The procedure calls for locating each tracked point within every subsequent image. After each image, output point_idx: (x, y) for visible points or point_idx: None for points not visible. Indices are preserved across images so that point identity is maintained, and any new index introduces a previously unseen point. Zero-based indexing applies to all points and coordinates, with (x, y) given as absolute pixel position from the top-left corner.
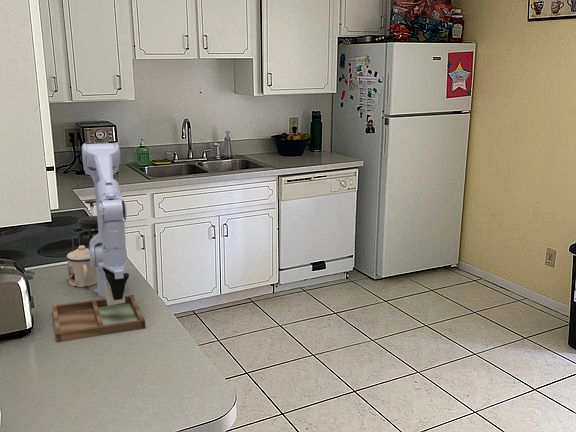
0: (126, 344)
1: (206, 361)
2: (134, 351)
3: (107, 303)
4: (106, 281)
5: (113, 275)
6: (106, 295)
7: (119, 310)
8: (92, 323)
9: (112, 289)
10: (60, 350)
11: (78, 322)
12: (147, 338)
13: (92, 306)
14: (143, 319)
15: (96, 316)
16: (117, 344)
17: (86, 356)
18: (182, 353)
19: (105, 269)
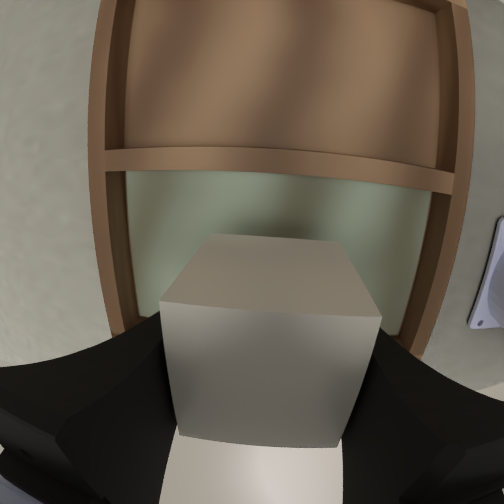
0: (60, 235)
1: (4, 360)
2: (25, 247)
3: (211, 237)
4: (363, 343)
5: (33, 465)
6: (218, 260)
7: None
8: (249, 124)
9: (121, 339)
10: (93, 11)
11: (293, 62)
12: (88, 307)
13: (440, 169)
14: None
15: (232, 147)
16: (65, 206)
17: (28, 101)
18: (21, 343)
19: (431, 470)
